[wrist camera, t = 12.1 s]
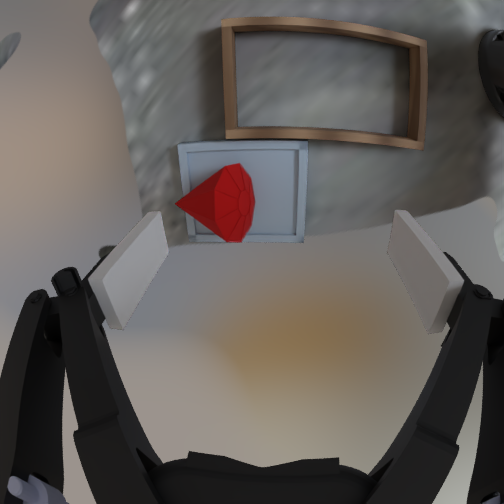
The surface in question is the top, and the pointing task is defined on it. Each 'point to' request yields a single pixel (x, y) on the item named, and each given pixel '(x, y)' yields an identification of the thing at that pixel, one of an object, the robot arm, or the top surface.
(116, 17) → the top surface
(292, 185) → the tray
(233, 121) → the frame
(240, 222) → the gemstone
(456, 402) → the robot arm
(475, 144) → the top surface
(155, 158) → the top surface
